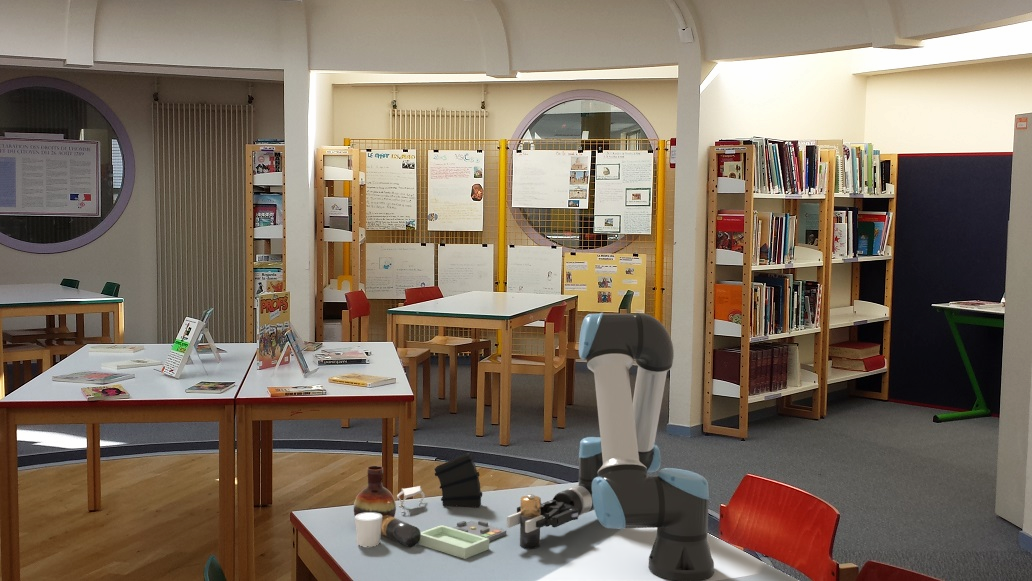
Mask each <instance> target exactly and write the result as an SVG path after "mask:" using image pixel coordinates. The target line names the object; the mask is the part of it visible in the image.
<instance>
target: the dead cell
mask: <svg viewBox="0 0 1032 581" xmlns="http://www.w3.org/2000/svg"><path fill="white" fill-rule="evenodd" d="M420 532H421V530H420V529H419V528H418V527H417V526H415V525H412V524H410V523H407V522H406V521H403V520H400V519H398V518H396V517H395V516H394V517H392V516H389V515H385V516H383V517H382V527H381V536H384V537H386V538H389V539H391V540H393V541H396V542H397V543H400V544H402V545H404V546H406V547H408V548H413V547H415V546H416V545H418V544H417V543H418V542H419V540H420V535H421V533H420Z"/></svg>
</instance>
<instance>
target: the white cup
mask: <svg viewBox="0 0 1032 581" xmlns="http://www.w3.org/2000/svg"><path fill="white" fill-rule="evenodd" d="M354 522H355V535H356V544H358V545H357V546H359V545H361V546H374V547H377V546H379V545H380V544H381V536H382V534H381V527H382V515H381V514H380V513H375V512H365V513H360V514H357V515H356V516H355V515H354ZM379 543H380V544H379ZM378 544H379V545H378ZM376 545H377V546H376ZM361 546H360V547H361Z"/></svg>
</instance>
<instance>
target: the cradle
mask: <svg viewBox="0 0 1032 581" xmlns="http://www.w3.org/2000/svg"><path fill="white" fill-rule="evenodd" d="M452 528H454V529H457V530H461V531H464V532H468V533H471V534H475V535H478V536H481V537H485V538H488V539H489V542H491V541H493V540H496V539H498V538H501V537H504V536H506V535H507V529H506V530H505V529H502V528H498V527H495V526H491V525H489V522H487V521H484V520H478V522H477V521H473V520H470V521H468V522H467V521H466V520H462V521H460V522H457V523H456V526H453V527H452Z"/></svg>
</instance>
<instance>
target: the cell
mask: <svg viewBox="0 0 1032 581" xmlns="http://www.w3.org/2000/svg"><path fill="white" fill-rule="evenodd" d="M541 503H542V499H541V497H540V496H538V495H535V494H533V493H532V494H527V495H523V496H521V497H520V506H521V513H520V524H519V528H520V529H519V546H520V547H521V548H523V549H527V550H534V549H538V548H539V547H540V546H541V528H538V529H536V530H533V531H531V532H529V533H526V532H525V521H528V520H530V519H533V518H535V517H538V516H540V512H541Z"/></svg>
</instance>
